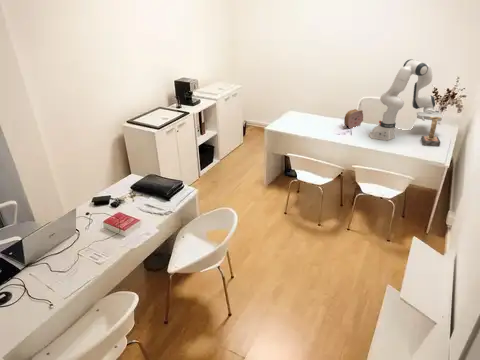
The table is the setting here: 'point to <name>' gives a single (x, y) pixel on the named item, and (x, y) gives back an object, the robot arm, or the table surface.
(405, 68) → the robot arm
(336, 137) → the table surface
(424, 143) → the display plinth
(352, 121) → the face sculpture
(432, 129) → the eyeglasses stand
